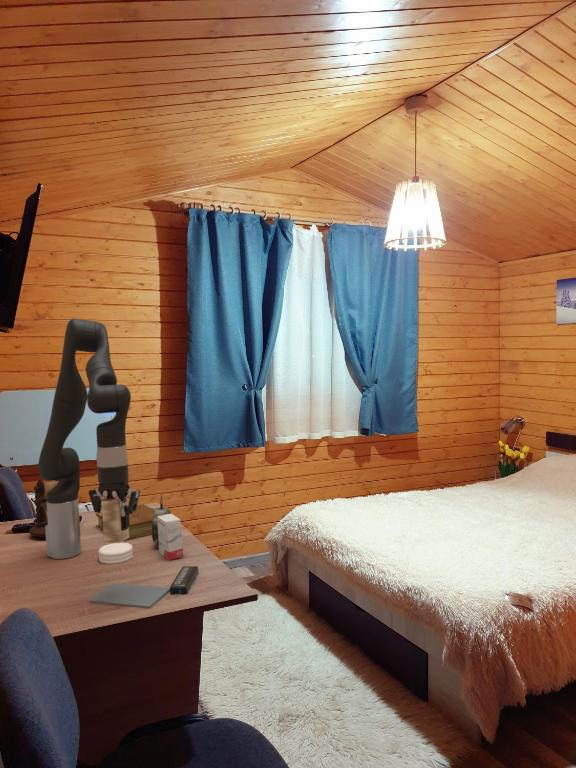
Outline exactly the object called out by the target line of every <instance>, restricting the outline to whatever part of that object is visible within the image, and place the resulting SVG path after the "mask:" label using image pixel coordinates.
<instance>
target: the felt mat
mask: <svg viewBox="0 0 576 768" xmlns="http://www.w3.org/2000/svg"><path fill="white" fill-rule="evenodd" d="M168 593H170V587H163V586H154V585H153V586H152V585H138V584H129V583H118V582H113V583H112V584H110V585H109V586H107V587H106V588H105V589H103V590H102V591H100V592H98V593H97V594H96V595H94V596H93V597H92V598H90V599H89V600H88V603H93V604H103V605H112V606H124V607H134V608H141V609H142V608H143V609H150V608H152V607H153V606H154V605H156V604H157V603H158V602H159V601H160V600H161V599H162V598H164V597H165V596H166V595H167V594H168Z"/></svg>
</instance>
